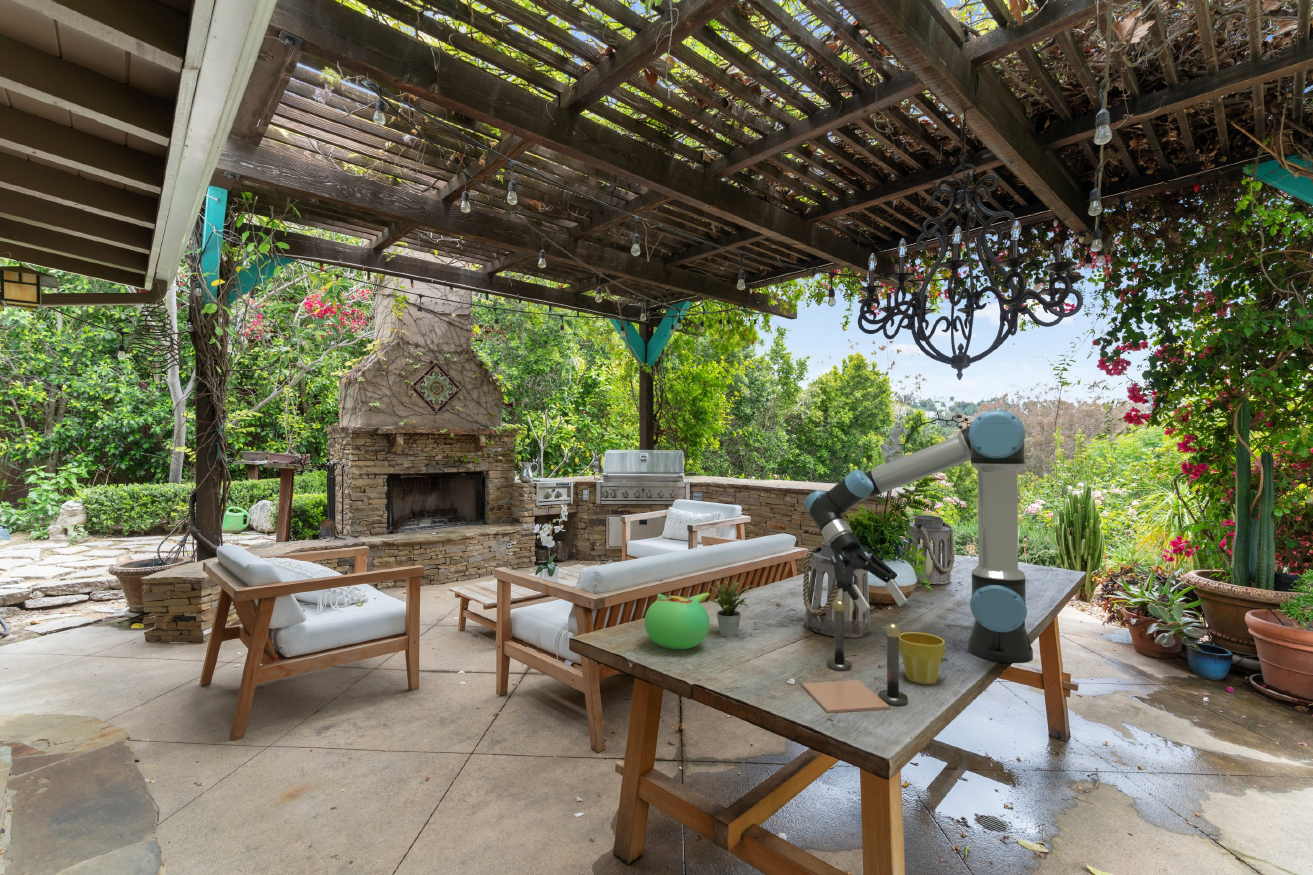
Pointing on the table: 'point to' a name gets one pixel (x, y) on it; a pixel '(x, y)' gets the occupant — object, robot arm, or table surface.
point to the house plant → (729, 609)
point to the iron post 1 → (839, 639)
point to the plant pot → (921, 656)
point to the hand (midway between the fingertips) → (885, 606)
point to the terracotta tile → (844, 696)
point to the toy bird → (677, 621)
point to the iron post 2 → (893, 669)
